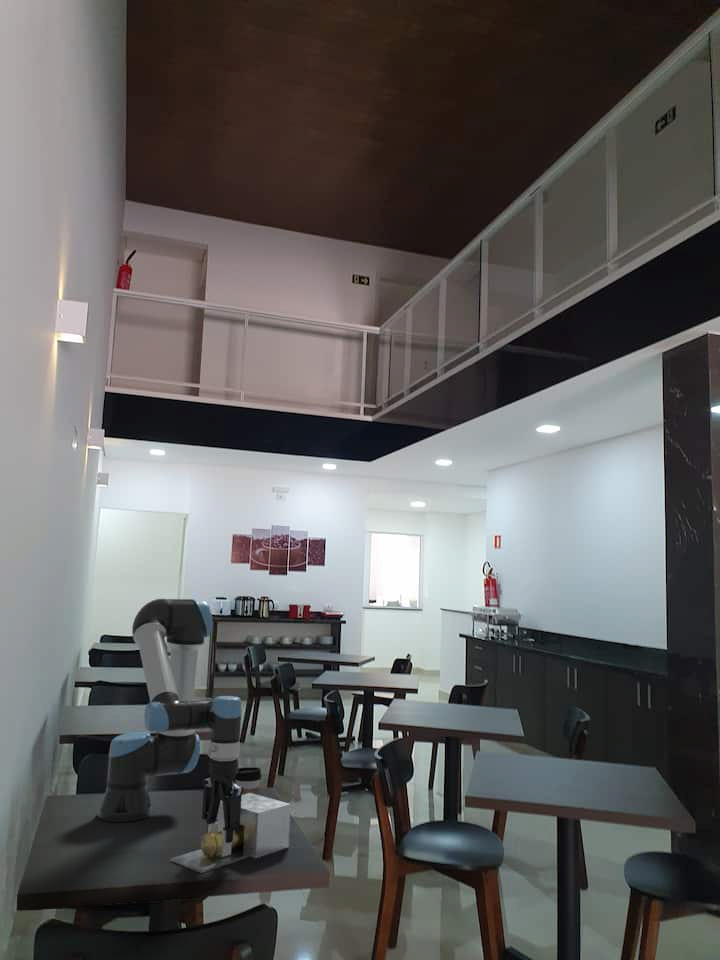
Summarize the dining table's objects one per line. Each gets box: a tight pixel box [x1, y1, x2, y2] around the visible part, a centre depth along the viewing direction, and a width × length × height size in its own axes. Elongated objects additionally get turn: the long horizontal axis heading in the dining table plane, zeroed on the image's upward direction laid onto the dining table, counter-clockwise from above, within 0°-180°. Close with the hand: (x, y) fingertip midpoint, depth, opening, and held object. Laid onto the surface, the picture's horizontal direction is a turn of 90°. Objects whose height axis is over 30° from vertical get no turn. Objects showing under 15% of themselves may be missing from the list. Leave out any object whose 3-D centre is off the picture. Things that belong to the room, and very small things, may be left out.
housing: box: [170, 793, 291, 874], centre depth 193 cm, size 16×28×11 cm, turn 141°
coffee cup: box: [235, 766, 262, 795], centre depth 220 cm, size 8×8×15 cm
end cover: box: [200, 825, 245, 857], centre depth 192 cm, size 6×14×6 cm, turn 141°
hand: (218, 852), depth 190 cm, fingers closed on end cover, 5 cm apart
